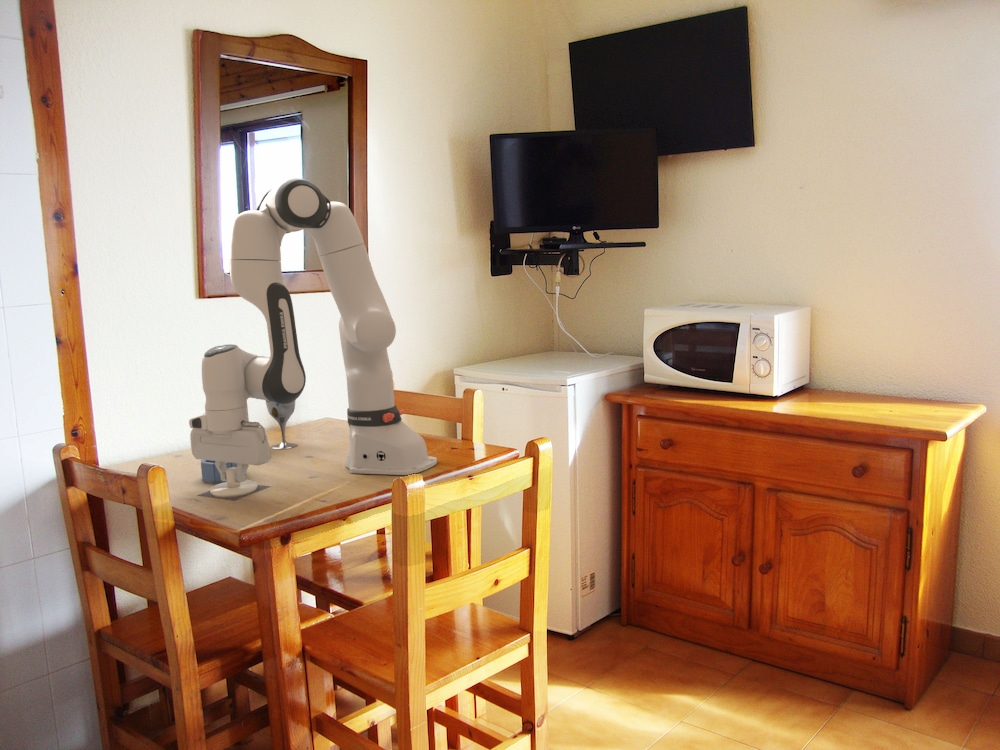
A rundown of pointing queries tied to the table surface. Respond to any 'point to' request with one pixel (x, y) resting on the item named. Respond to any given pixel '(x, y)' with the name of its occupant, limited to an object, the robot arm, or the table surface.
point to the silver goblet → (281, 420)
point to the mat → (207, 494)
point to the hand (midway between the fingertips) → (233, 481)
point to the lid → (233, 486)
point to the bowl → (213, 471)
